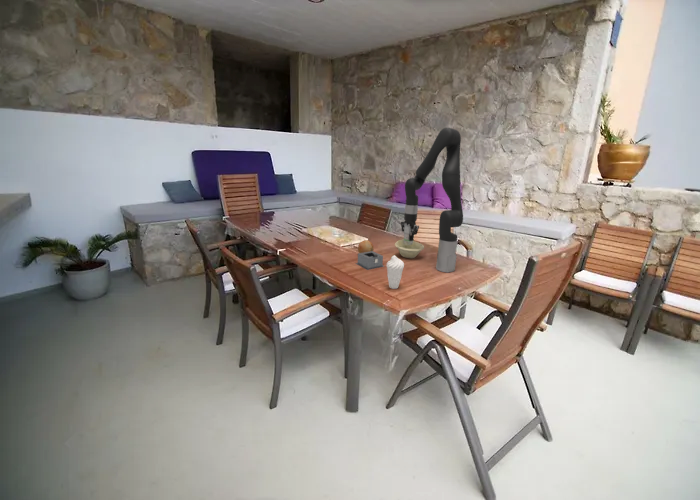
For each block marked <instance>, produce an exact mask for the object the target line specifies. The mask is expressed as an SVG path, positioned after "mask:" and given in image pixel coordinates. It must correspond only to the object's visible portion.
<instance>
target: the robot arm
mask: <svg viewBox="0 0 700 500" xmlns="http://www.w3.org/2000/svg"><path fill="white" fill-rule="evenodd" d="M461 137H462V136H461V133H460V132H459V130H457V129H454V128H451V127H444V128H442V129H441V130H440V131H439V132H438V134H437V136H436V137H435V140H434V141H433V143H432V145H431V147H430V149H429V151H428V153H427V154H426V156H425V157H424V159H423V160H422V162H421V163H420V164H419V166H418V167H417V169H416V171H415V176H414V177H411V178H408V179H406V181H405V184H404V192H405V196H406V197H405V198H406V199H405V207H404V212H403V213H404V214H403V220H404V221H401V222H400V225H401V232H403V233H404V231H405V226H404V225H408V226H411V227H410V241H413V240H414V239H415V238H414V237H415V236H416V235H417V234H418V231H419V230H420V228H419V227H420V225H417V222H416V221H417V220H418V219H417V218H418V208H419V207H418V206H419V205H418V204H419V196H418V195H417V193H416V191H418V190H420V189H421V188H422V187H423V185H424V183H425V182H426V180H427V177H428V176H429V174H430V173H431V172H432V171H433V169H434V168H435V166H436V164H437V160H438V158H439V155H440V154H441V152H442V151H443V150H444V149H445V150H446V160H445V163H444V165H443V168H442V173H441V184H442V185H441V186H442V188H443V190H444V192H445V194H446V196H447V197H448V199H449V201H450V202H449V203H450V207H451V209H447V210H443V211H441V213H440V215H439V223H438V235H439V237H438V248H437V256H436V266H435V269H436V270H437V271H439V272H443V273H451V272H454V271H456V263H457V254H456V249H457V242H458V235H457V234H456V233H454V232H452V228H458V227H461V226H462V224H463V221H464V213H463V204H462V192H461V165H460V164H461V161H460V159H461V157H460V155H461V139H462V138H461ZM411 229H413V230H411ZM412 232H413V233H412ZM414 241H415V240H414Z"/></svg>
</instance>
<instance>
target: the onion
mask: <svg viewBox="0 0 700 500" xmlns="http://www.w3.org/2000/svg"><path fill="white" fill-rule="evenodd" d="M374 249H375V247H374V245H373V242H372V241H370V240H368V239H364V240H361V241H360V242H359V244H358V246H357V251H358V253H364V252H370V251H373V252H374Z"/></svg>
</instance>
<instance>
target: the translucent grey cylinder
mask: <svg viewBox="0 0 700 500" xmlns="http://www.w3.org/2000/svg"><path fill="white" fill-rule="evenodd" d="M404 226H405V231H404V232H403V238H402V240H404V243H403V244H405V245H413V241H415V240H413V241H410V227H411V226H408V225H404ZM411 230H413V229H411ZM412 233H413V232H412Z"/></svg>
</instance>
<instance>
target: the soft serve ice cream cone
mask: <svg viewBox="0 0 700 500" xmlns="http://www.w3.org/2000/svg"><path fill="white" fill-rule="evenodd" d="M404 267H405V263H404V261H403V260H402V259H400V258H398V257H397V256H396V255H392V256H391V258H390V260H388V261H387V262H386V270H387V281H388V287H389V288H390V289H392V290H393V289H398V288H399V286H400V282H401V279H402V275H403V270H404Z"/></svg>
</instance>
